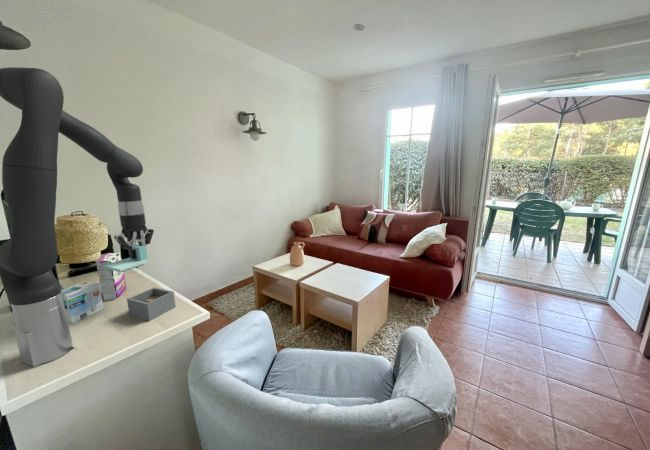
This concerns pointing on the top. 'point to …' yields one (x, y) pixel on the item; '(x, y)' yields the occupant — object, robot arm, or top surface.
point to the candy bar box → (110, 277)
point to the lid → (129, 261)
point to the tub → (151, 304)
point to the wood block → (151, 298)
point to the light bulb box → (82, 300)
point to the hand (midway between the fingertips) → (138, 257)
